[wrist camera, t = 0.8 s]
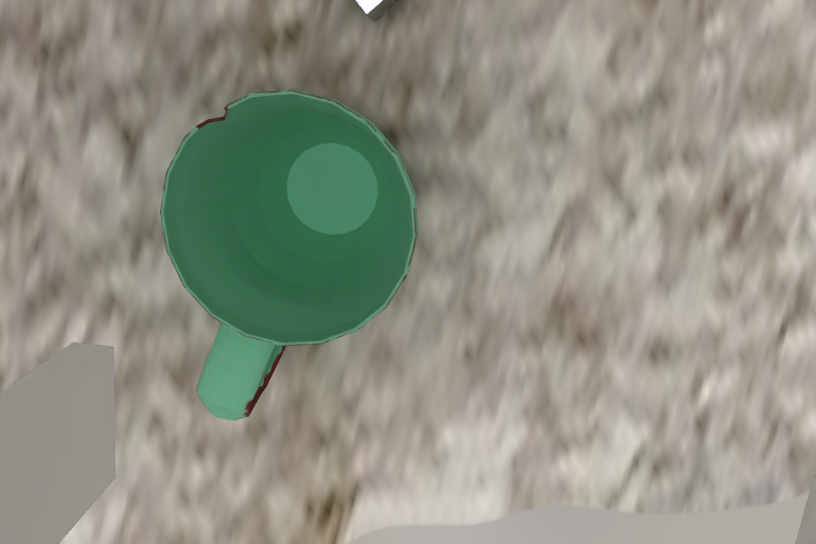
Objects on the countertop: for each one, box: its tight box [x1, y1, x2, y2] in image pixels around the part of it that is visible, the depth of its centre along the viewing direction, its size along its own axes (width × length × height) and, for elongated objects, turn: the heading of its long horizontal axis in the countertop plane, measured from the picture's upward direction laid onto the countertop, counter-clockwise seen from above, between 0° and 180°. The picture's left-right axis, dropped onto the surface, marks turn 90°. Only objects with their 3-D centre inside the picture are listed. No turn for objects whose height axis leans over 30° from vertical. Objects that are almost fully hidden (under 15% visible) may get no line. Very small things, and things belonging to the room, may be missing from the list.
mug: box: [160, 90, 418, 420], centre depth 32 cm, size 15×10×10 cm
